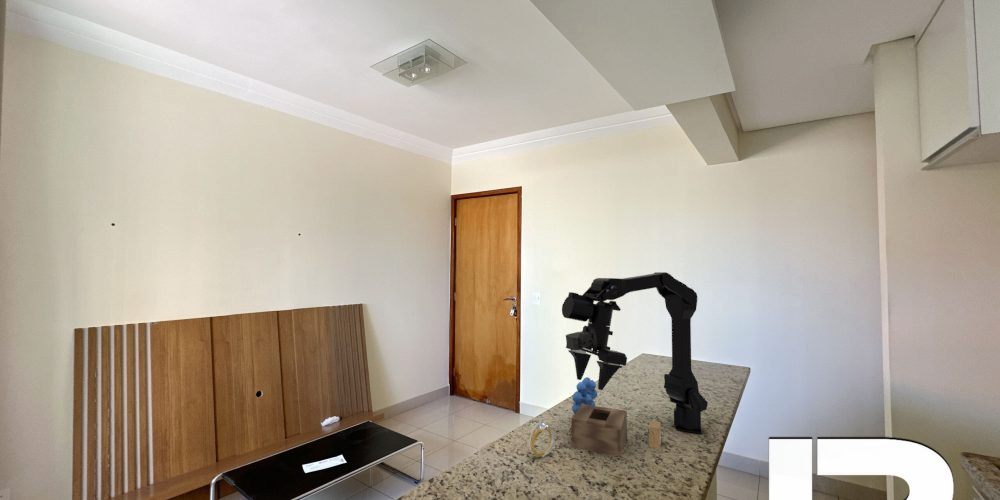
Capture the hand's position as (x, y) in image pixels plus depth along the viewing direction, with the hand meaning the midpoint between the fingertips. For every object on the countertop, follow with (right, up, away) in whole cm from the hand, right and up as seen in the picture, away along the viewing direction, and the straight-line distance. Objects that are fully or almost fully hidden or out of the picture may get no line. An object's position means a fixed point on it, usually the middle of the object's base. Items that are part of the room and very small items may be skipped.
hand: (589, 384), depth 100 cm
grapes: (+2, -16, +17) cm, 23 cm away
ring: (-13, -14, -8) cm, 21 cm away
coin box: (+3, -15, 0) cm, 15 cm away
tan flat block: (+17, -15, -1) cm, 22 cm away
